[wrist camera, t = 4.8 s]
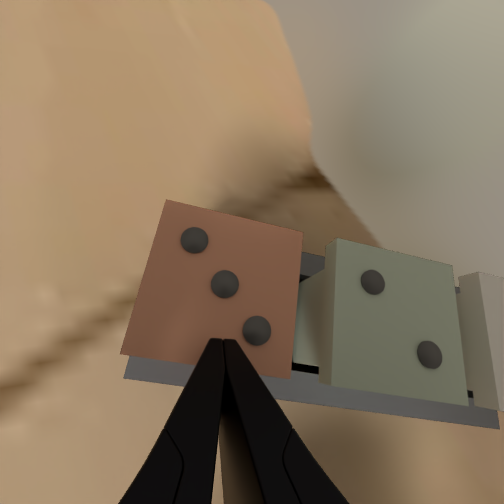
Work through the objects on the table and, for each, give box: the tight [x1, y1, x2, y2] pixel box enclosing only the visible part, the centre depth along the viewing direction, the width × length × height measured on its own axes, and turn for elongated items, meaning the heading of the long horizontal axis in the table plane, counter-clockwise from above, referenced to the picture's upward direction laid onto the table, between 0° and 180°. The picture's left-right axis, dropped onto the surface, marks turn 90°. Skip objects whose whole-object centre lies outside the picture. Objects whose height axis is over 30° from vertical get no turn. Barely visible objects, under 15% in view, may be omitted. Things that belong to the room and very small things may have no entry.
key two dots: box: [292, 238, 469, 406], centre depth 14 cm, size 6×6×7 cm
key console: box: [123, 252, 500, 429], centre depth 18 cm, size 8×21×5 cm, turn 81°
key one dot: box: [456, 272, 504, 412], centre depth 15 cm, size 6×6×7 cm
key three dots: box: [120, 199, 303, 379], centre depth 13 cm, size 6×6×7 cm
